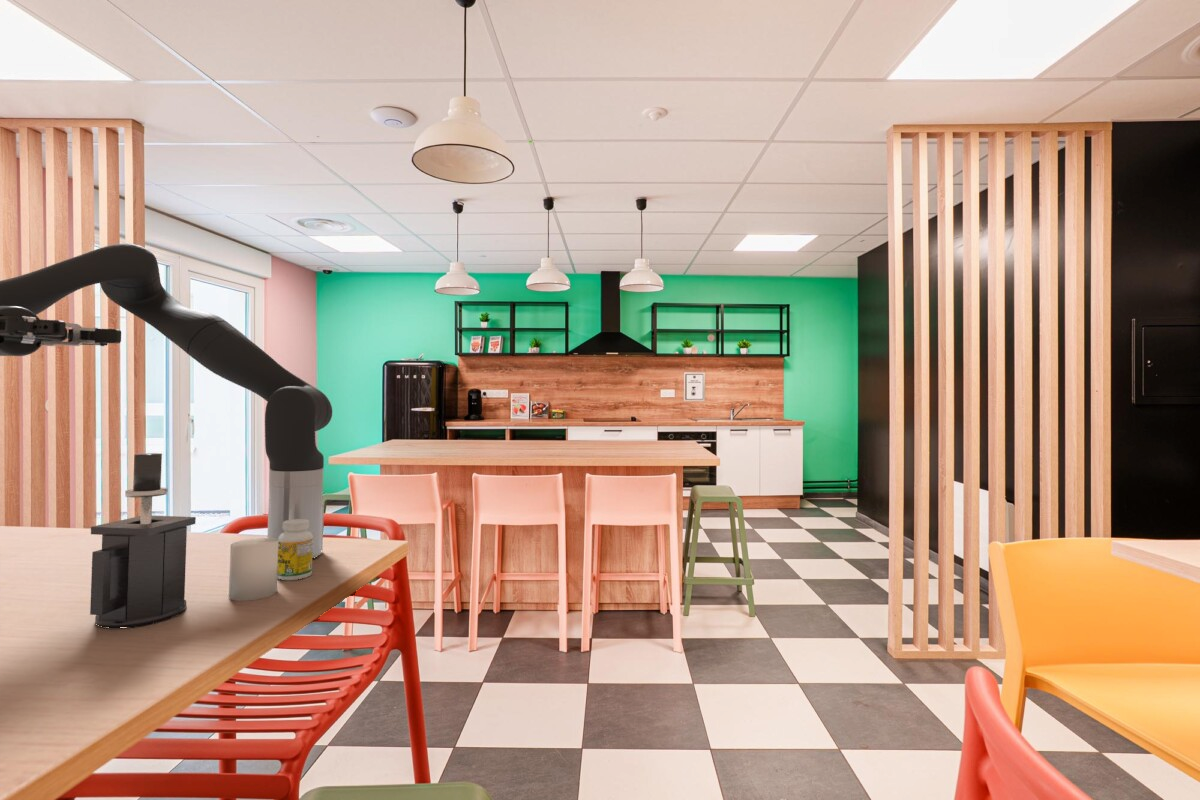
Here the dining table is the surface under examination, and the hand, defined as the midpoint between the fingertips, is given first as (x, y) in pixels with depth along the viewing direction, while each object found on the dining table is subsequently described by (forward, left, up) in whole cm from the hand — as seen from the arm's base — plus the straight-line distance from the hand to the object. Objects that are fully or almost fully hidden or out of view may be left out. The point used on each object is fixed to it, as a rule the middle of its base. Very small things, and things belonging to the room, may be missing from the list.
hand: (92, 332), depth 82 cm
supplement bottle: (-15, +23, -40) cm, 49 cm away
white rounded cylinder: (-6, +22, -40) cm, 46 cm away
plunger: (+4, +13, -38) cm, 41 cm away
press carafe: (+4, +13, -40) cm, 42 cm away
